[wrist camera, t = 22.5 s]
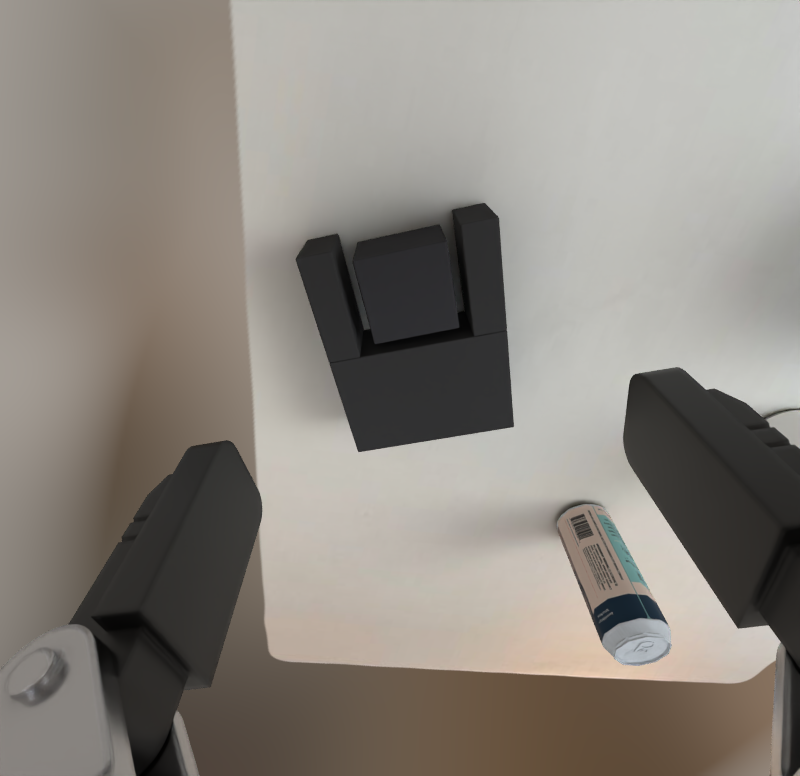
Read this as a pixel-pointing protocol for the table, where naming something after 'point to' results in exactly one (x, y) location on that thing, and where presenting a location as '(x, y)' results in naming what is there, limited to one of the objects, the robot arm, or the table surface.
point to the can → (787, 425)
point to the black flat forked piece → (418, 347)
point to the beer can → (613, 587)
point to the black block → (406, 284)
